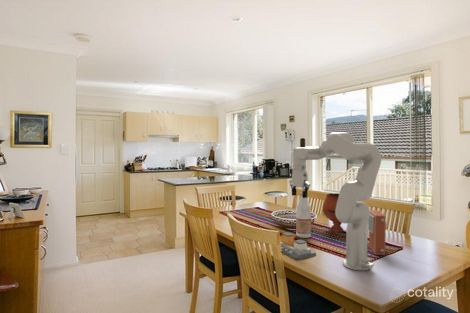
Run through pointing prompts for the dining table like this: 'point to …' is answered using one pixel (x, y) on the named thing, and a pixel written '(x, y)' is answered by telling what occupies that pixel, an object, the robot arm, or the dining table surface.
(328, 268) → the dining table surface
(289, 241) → the orange short cylinder
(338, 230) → the goblet
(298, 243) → the breaker handle
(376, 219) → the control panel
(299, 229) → the fruit juice
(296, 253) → the breaker panel
